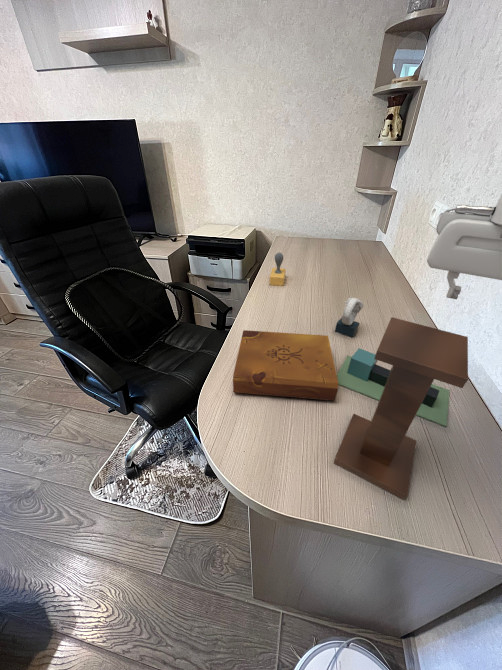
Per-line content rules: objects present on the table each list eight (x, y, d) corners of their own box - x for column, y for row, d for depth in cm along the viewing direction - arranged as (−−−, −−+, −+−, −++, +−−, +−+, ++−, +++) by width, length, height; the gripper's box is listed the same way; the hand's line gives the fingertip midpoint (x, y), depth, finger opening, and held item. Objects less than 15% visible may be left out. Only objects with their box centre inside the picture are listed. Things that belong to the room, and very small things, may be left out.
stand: (414, 445, 54) (476, 335, 39) (404, 500, 45) (479, 388, 31) (352, 417, 59) (385, 312, 44) (333, 463, 51) (367, 351, 36)
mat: (448, 391, 65) (449, 389, 65) (446, 427, 57) (446, 426, 57) (347, 356, 76) (347, 355, 76) (332, 382, 68) (332, 381, 67)
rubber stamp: (283, 286, 113) (285, 257, 106) (269, 285, 114) (270, 256, 107) (285, 276, 121) (287, 249, 114) (271, 275, 122) (273, 248, 115)
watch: (359, 328, 87) (367, 297, 81) (350, 340, 82) (358, 308, 76) (342, 322, 90) (349, 292, 84) (332, 334, 85) (338, 302, 78)
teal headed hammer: (430, 410, 60) (439, 394, 57) (347, 372, 70) (351, 357, 67) (435, 397, 63) (444, 381, 60) (354, 362, 73) (358, 347, 70)
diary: (233, 395, 64) (232, 377, 61) (243, 346, 80) (243, 330, 76) (334, 403, 62) (339, 384, 59) (324, 351, 78) (328, 334, 74)
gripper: (443, 206, 38) (411, 296, 46) (665, 226, 29) (577, 333, 37) (446, 200, 43) (416, 283, 51) (639, 215, 34) (566, 313, 42)
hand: (485, 304), depth 44 cm, fingers open, 8 cm apart
